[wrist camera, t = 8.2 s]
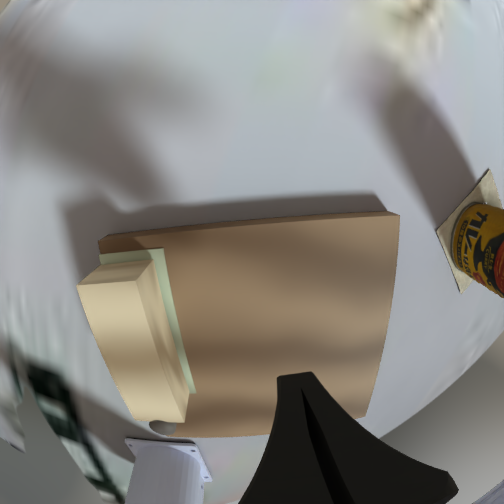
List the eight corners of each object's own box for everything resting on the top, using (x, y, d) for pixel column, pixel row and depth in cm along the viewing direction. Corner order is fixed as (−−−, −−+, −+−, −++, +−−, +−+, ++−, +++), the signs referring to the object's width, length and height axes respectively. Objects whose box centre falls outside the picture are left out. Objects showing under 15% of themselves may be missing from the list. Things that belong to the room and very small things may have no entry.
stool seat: (360, 405, 22) (365, 417, 20) (167, 424, 21) (165, 437, 20) (388, 211, 16) (400, 215, 15) (106, 235, 16) (95, 241, 14)
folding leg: (194, 405, 18) (190, 435, 15) (151, 404, 18) (143, 433, 15) (153, 259, 15) (136, 280, 12) (100, 265, 15) (76, 285, 12)
